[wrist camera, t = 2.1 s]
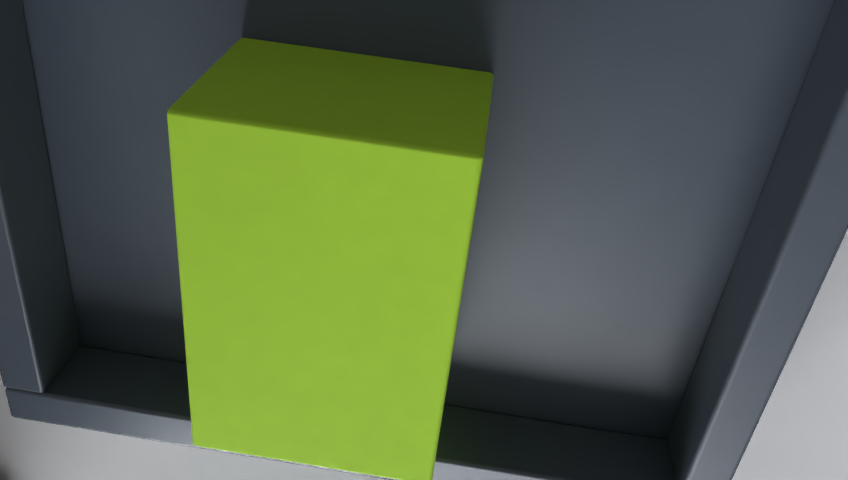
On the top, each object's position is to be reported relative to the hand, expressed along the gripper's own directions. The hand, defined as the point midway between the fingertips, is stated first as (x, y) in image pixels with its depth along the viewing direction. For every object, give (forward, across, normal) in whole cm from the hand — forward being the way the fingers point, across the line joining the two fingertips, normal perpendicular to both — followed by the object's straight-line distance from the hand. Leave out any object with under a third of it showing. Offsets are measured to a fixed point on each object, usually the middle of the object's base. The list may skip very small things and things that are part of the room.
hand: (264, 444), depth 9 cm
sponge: (+5, 0, 0) cm, 5 cm away
